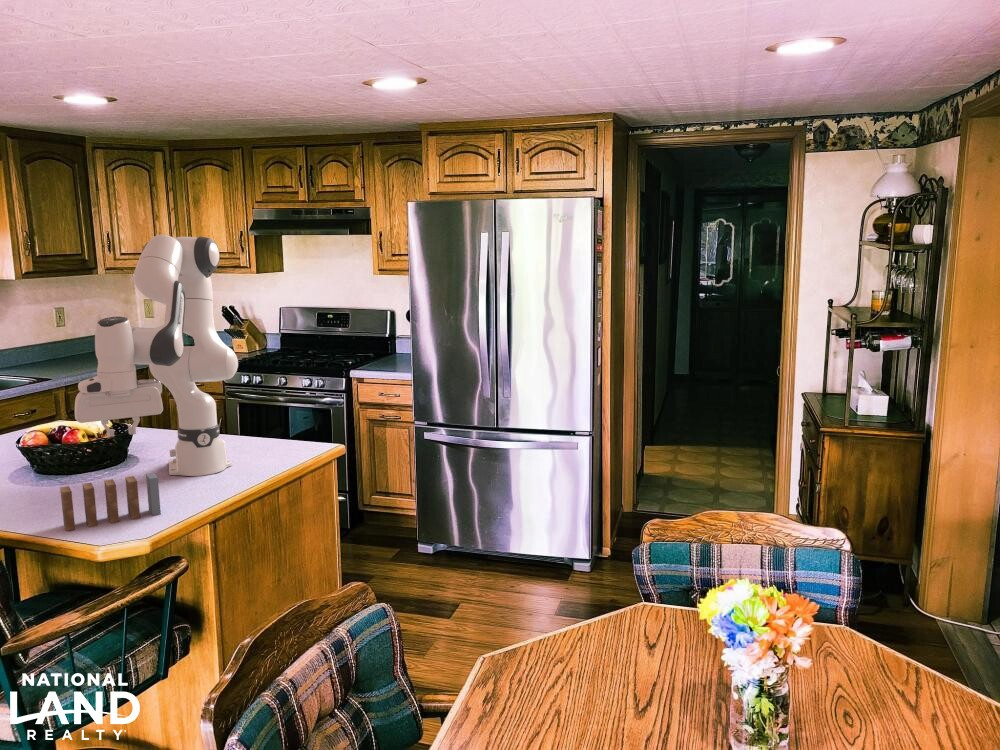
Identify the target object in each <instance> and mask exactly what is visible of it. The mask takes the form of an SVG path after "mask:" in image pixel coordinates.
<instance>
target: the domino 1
mask: <svg viewBox="0 0 1000 750" xmlns="http://www.w3.org/2000/svg"><path fill="white" fill-rule="evenodd" d="M72 492H73V491H72V489H71V487H70V485H66V486H61V487H60V500H61V509H62V510H61V511H62V520H63V526H64V530H65V532H69V531H70V532H71V531H75V530H76V524H75V523H76V522H75V515H74V503H73V493H72Z"/></svg>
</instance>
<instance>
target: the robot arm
mask: <svg viewBox="0 0 1000 750" xmlns="http://www.w3.org/2000/svg"><path fill="white" fill-rule="evenodd" d="M219 264H220V249H219V246H218V244H217V243H216V242H215V240H213V239H212V238H210V237H205V236H198V237H196V236H177V237H173V236H170V235H168V234H157V235H155V236H153V237H151V238H150V240H148V241H147V242H146V244H144V246H143V248H142V250H141V254H140V256H139V258H138V261H137V264H136V267H134V268H135V269H134V272H133V281H134V284H135V287H136V288H137V290H138V291H139V292H140V293H141V294H142V295H143V296H144V297H146V298H148V299H150V300H152V301H154V302H158V303H160V304H163V305H165V312H164V322H163V324H162V325H160V326H157V327H135V326H133V325H131V323H130V319H129V318H127V317H124V316H109V317H105V318H102V319H99V320H98V321H97V322H96V325H95V332H94V349H95V356H96V359H97V369H96V376H93V377H90V378H88V379H84V380H82V381H80V382H79V383H78V385H77V388H78V391H79V392H78V393H77V395H76V396H75V400H74V419H75V420H76V421H77V422H78V423H80V424H84V423H92V422H99V421H100V422H101V425H102V426H103V428H104V429H105V430H106V436H107V438H113V437H115V435H116V434H115V429H114V428H109V426H108V425H109V424H110V423H109V422H110V420H120V419H127V418H128V419H129V418H132V419H131V420H132V421H133V422H132V425H131V426H128V427H127V429H128V434H129V435H136V434H137V429H136V428H137V427H138V425H139V423H140V421H141V418H140V417H147V416H155V415H156V416H157V415H161V414H162V413H163V411H164V406H163V400H162V393H163V385H164V386H165V387H166V388H167V389H168V391H169V392H170V393H171V395H172V397H173V399H174V401H175V405H176V409H177V415H178V427H177V438H178V439H177V441H176V444H175V445H174V448H173V449H169V457H171V458H172V459H169V460H168V475H170V476H186V477H197V476H198V477H200V476H201V477H202V476H208V475H213V474H216V473H219V472H220V473H221V472H222V471H224V470H226V469H227V468H228V467H229V468H230V467H231V466H233V462H232V461H230V460H228V458H227V450H226V449H227V448H226V441H225V440H224V439H222V438H221V437H220V425H219V424H218V417H217V403H216V401H215V399H214V398H213V397H212V395H210V394H209V393H206V392H204V391H202V390H200V389H199V387H197V384H196V383H202V382H203V383H207V382H208V383H210V382H211V383H212V382H213V383H215V382H221V381H226V380H230V379H232V378H233V377H234V376H235V375H236V373H237V371H238V368H239V360H238V355H236V353H235V351H234V349H232V347H231V348H230V347H229V346H228V345H227V344H225V343H224V342H223V341H222V339H221V338H220V336H219V334H218V332H217V329H216V326H215V325H216V324H215V318H214V290H213V283H212V278H211V276H212V275H213V272H215V270H216V269H217V268H218V266H219ZM184 334H186V335H188V336H190V337H192V338H193V341H194V345H189V346H188V345H186V346H185V345H184V344H185V343H184ZM136 365H148V368H149V371H150V374H151V375H152V377H153V378H150V379H137V369H136Z"/></svg>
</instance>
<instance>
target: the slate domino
mask: <svg viewBox="0 0 1000 750" xmlns="http://www.w3.org/2000/svg"><path fill="white" fill-rule="evenodd" d="M145 480H146V491H147V493H146V495H147V504H148V511H149V512H150V514H151V516H157V515H162V514H161V500H160V498H161V497H160V487H159V477H158V476H157V474H155V473H154V472H151V473H146V474H145Z"/></svg>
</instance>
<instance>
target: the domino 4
mask: <svg viewBox="0 0 1000 750" xmlns="http://www.w3.org/2000/svg"><path fill="white" fill-rule="evenodd" d="M124 481H125V488H126V489H125V490H126V501H127V512H128V513H127V514H128V515H129V517H130V519H131V520H136V519H140V518H141V511H140V500H139V499H140V497H139V489H138V480H137V479H136V477H135V476H134V475H131V476H125V480H124Z"/></svg>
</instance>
